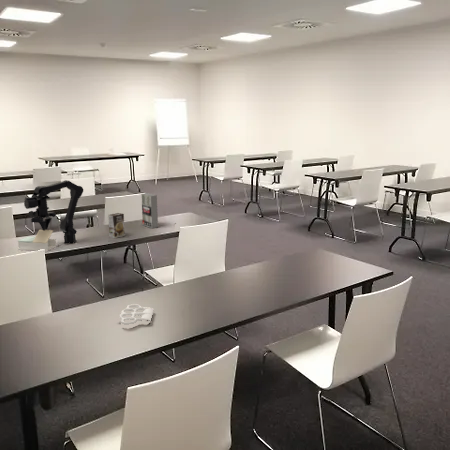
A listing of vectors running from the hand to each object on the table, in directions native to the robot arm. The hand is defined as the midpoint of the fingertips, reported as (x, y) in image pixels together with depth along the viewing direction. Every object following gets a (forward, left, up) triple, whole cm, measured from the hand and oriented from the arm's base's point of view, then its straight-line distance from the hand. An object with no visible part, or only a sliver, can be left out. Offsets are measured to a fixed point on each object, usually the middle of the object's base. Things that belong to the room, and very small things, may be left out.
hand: (45, 230), depth 283 cm
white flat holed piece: (-95, +89, -13) cm, 131 cm away
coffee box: (-33, -35, -12) cm, 50 cm away
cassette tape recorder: (-46, -67, -12) cm, 82 cm away
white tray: (+6, +1, -12) cm, 13 cm away
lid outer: (+11, +1, -7) cm, 13 cm away
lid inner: (0, +2, -4) cm, 4 cm away
